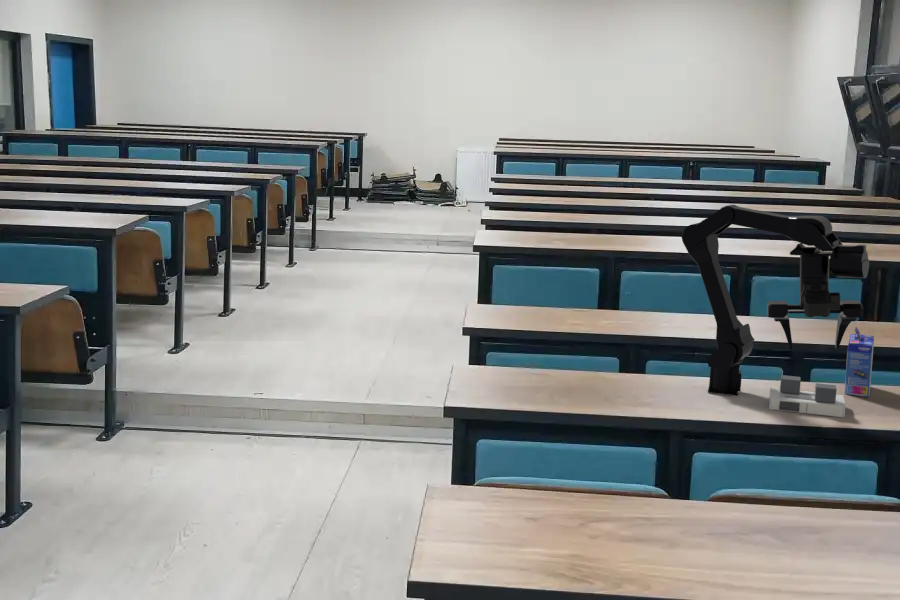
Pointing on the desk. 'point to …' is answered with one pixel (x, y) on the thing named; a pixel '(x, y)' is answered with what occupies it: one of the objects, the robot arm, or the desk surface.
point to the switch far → (790, 384)
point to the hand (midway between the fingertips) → (813, 348)
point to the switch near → (825, 393)
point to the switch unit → (805, 403)
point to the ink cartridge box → (859, 364)
